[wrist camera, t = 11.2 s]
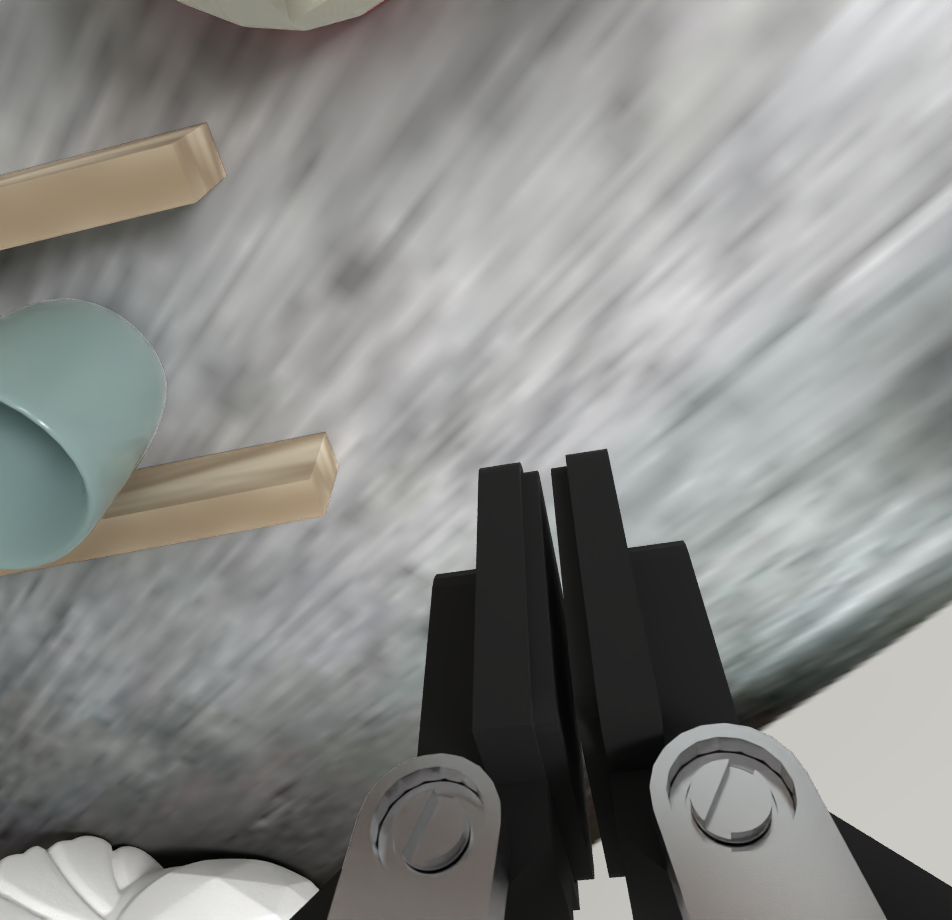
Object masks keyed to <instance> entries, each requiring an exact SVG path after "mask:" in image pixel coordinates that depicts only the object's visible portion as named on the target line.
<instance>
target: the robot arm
mask: <svg viewBox="0 0 952 920" xmlns="http://www.w3.org/2000/svg"><path fill="white" fill-rule="evenodd" d="M566 463H567V466H565V467H558V468H552V469H551V476H552V486H553V496H554V506H555V516H556V526H557V536H558V546H559V556H560V566H561V576H562V586H563V593H562V588H561V583H560V578H559V573H558V568H557V562H556V557H555V552H554V547H553V542H552V537H551V532H550V527H549V522H548V517H547V512H546V506H545V501H544V496H543V491H542V486H541V481H540V476H539V472H538V471H532V472H526V473H523V469H522V465H521V463H520V462H518V463H512V464H506V465H499V466H493V467H486V468H480V469H479V478H478V516H477V554H476V569H473V570H465V571H458V572H451V573H444V574H436V576H435V578H434V581H433V587H432V597H431V609H430V620H429V631H428V642H427V654H426V665H425V676H424V687H423V699H422V710H421V721H420V732H419V744H418V755H417V757H416V758H414V759H411V760H409V761H406V762H404V763H401V764H400V765H398V766H397V767H396V768H394V769H393V770H391V771H390V772H389V773H387V774H386V775H385V776H383V777H382V778H381V779H380V780H379V782H378V783H377V784H376V785H375V787H374V788H373V789H372V790H371V791H370V793H369V794H368V795H367V797H366V799H365V801H364V804H363V806H362V808H361V810H360V812H359V815H358V817H357V820H356V824H355V827H354V830H353V834H352V837H351V841H350V844H349V847H348V851H347V854H346V857H345V861H344V864H343V868H342V869H341V870H340V871H339V872H337V873H336V874H335V875H334V876H333V877H332V878H331V879H330V880H329V881H328V882H327V883H326V884H325V885H324V886H323V887H322V888H321V889H320V890H319V891H318V892H317V893H316V894H315V895H314V896H313V897H312V898H311V899H310V900H309V901H308V902H307V903H306V904H305V905H304V906H303V907H302V908H301V909H300V910H299V911H297V912H296V913H295V914H294V915H293V916H292V917H291V918H290V919H289V920H573V910H580V906H579V895H578V882H577V880H589V879H594V865H593V855H592V845H591V835H590V826H589V816H588V806H587V797H586V787H585V777H584V768H583V758H582V749H583V754H584V759H585V764H586V768H587V773H588V778H589V783H590V787H591V792H592V797H593V802H594V807H595V811H596V816H597V821H598V826H599V830H600V835H601V840H602V845H603V850H604V854H605V859H606V863H607V868H608V873H609V877H610V878H611V877H624V876H625V877H626V882H627V887H628V893H629V898H630V903H631V909H632V914H633V920H952V887H951V886H949V885H948V884H946V883H944V882H943V881H941V880H940V879H938V878H936V877H935V876H933V875H932V874H930V873H928V872H927V871H925V870H923V869H921V868H920V867H918V866H917V865H915V864H914V863H912V862H910V861H909V860H907V859H905V858H904V857H902V856H901V855H899V854H897V853H896V852H894V851H892V850H891V849H889V848H887V847H886V846H884V845H882V844H881V843H879V842H878V841H876V840H874V839H873V838H871V837H869V836H868V835H866V834H865V833H863V832H861V831H860V830H858V829H856V828H855V827H853V826H851V825H850V824H848V823H846V822H845V821H843V820H842V819H840V818H838V817H837V816H835V815H833V814H832V813H830V812H829V811H828V810H827V808H826V806H825V804H824V802H823V800H822V799H821V797H820V795H819V793H818V791H817V789H816V788H815V786H814V784H813V782H812V780H811V778H810V776H809V775H808V773H807V771H806V770H805V769H804V767H803V766H802V765H801V763H800V762H799V761H798V759H797V758H796V757H795V755H794V754H793V753H792V752H791V751H790V750H789V749H787V748H786V747H785V746H783V745H782V744H781V743H780V742H778V741H777V740H776V739H774V738H773V737H771V736H769V735H767V734H765V733H762V732H760V731H758V730H755V729H753V728H751V727H747V726H741V725H740V724H739V720H738V717H737V714H736V710H735V707H734V704H733V700H732V697H731V693H730V690H729V687H728V683H727V680H726V677H725V673H724V670H723V667H722V663H721V660H720V657H719V653H718V650H717V647H716V643H715V640H714V636H713V633H712V630H711V626H710V623H709V620H708V616H707V613H706V610H705V606H704V603H703V600H702V596H701V593H700V590H699V586H698V583H697V579H696V576H695V573H694V569H693V566H692V563H691V559H690V556H689V553H688V550H687V547H686V544H685V543H684V541H676V542H668V543H661V544H654V545H647V546H639V547H632V548H627V543H626V538H625V533H624V528H623V524H622V519H621V514H620V509H619V504H618V499H617V494H616V490H615V485H614V480H613V475H612V470H611V465H610V461H609V456H608V451H607V449H602V450H596V451H589V452H583V453H577V454H570V455H566ZM563 596H564V598H563ZM581 744H582V748H581Z"/></svg>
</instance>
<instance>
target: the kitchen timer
mask: <svg viewBox="0 0 952 920" xmlns="http://www.w3.org/2000/svg"><path fill="white" fill-rule="evenodd" d="M176 1H178V2H180V3H182V4H185V5H188V6H190V7H193V8H195V9H198V10H201V11H203V12H206V13H208V14H211V15H214V16H216V17H219V18H221V19H224V20H227V21H229V22H232V23H234V24H237V25H240V26H242V27H252V28H268V29H284V30H300V31H307V30H311V29H314V28H318V27H322V26H325V25H329V24H333V23H336V22H340V21H344V20H348V19H351V18H355V17H359V16H362V15H364V14H366V13H367V12H369V11H370V10H372V9H373V8H375V7H376V6H378V5H379V4H381V3H382V2H383V1H385V0H176Z"/></svg>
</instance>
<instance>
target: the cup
mask: <svg viewBox="0 0 952 920" xmlns="http://www.w3.org/2000/svg"><path fill="white" fill-rule="evenodd" d="M166 395H167V381H166V377H165V372H164V368H163V366H162V364H161V362H160V360H159V357H158V355H157V353H156V351H155V350H154V348H153V347H152V346H151V344H150V343H149V341H148V340H147V339H146V338H145V337H144V335H143V334H142V333H141V332H140V331H139V330H138V329H137V328H136V327H135V326H133V325H132V324H131V323H130V322H129V321H127V320H126V319H125V318H123V317H122V316H120V315H119V314H117V313H115V312H114V311H112V310H110V309H108V308H106V307H103V306H101V305H99V304H96V303H93V302H89V301H85V300H81V299H75V298H57V299H49V300H45V301H40V302H35V303H32V304H28V305H25V306H23V307H21V308H18V309H16V310H14V311H11V312H9V313H7V314H5V315H3V316H0V570H22V569H29V568H35V567H40V566H42V565H45V564H48V563H51V562H54V561H56V560H58V559H59V558H61V557H63V556H65V555H66V554H68V553H70V552H71V551H72V550H73V549H75V548H76V547H77V546H78V545H79V544H80V543H81V542H82V541H83V540H84V539H85V538H86V537H87V536H88V535H89V534H90V533H91V532H92V531H93V529H94V528H95V527H96V526H97V524H98V523H99V522H100V520H101V519H102V517H103V516H104V515H105V513H106V512H107V510H108V509H109V507H110V506H111V505H112V503H113V502H114V500H115V499H116V497H117V496H118V495H119V493H120V492H121V490H122V489H123V487H124V486H125V484H126V483H127V481H128V480H129V478H130V477H131V475H132V474H133V472H134V471H135V469H136V468H137V466H138V464H139V463H140V461H141V460H142V458H143V457H144V455H145V453H146V451H147V450H148V448H149V446H150V445H151V443H152V441H153V439H154V437H155V435H156V432H157V430H158V427H159V425H160V422H161V419H162V416H163V413H164V409H165V405H166Z"/></svg>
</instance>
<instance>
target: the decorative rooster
mask: <svg viewBox="0 0 952 920" xmlns="http://www.w3.org/2000/svg"><path fill="white" fill-rule="evenodd" d="M318 891H319V889H318V888H317V887H316V886H315V885H314V884H313V883H312V882H311V881H310V880H308V879H306V878H305V877H303V876H301V875H299V874H297V873H295V872H293V871H290V870H288V869H286V868H284V867H281V866H279V865H276V864H273V863H270V862H266V861H261V860H255V859H213V860H203V861H199V862H195V863H191V864H188V865H185V866H178V867H171V868H166V869H164V868H163V867H162V866H161V865H160V864H159V863H158V862H157V861H156V860H155V859H154V858H153V857H151V856H150V855H149V854H147V853H146V852H144V851H143V850H141V849H139V848H136V847H132V846H123V847H119V848H117V849H116V850H114V851H112V846H111V845H110V844H109V843H108V842H107V841H105V840H104V839H101V838H98V837H95V836H81V837H77V838H75V839H73V840H65V841H59V842H57V843H55V844H54V845H52V846H51V847H50V848H48V849H47V850H45V849H43V848H41V847H40V846H34V847H31V848H30V849H28V850H27V851H25V852H24V853H23V854H14V855H10V856H7V857H5V858H3V859H2V860H0V920H289V919H290V918H291V917H292V916H293V915H294V914H295V913H296V912H297V911H299V910H300V909H301V908H302V907H303V906H304V905H305V904H306V903H307V902H308V901H309V900H310V899H311V898H312V897H313V896H314V895H315V894H316V893H317V892H318Z"/></svg>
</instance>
